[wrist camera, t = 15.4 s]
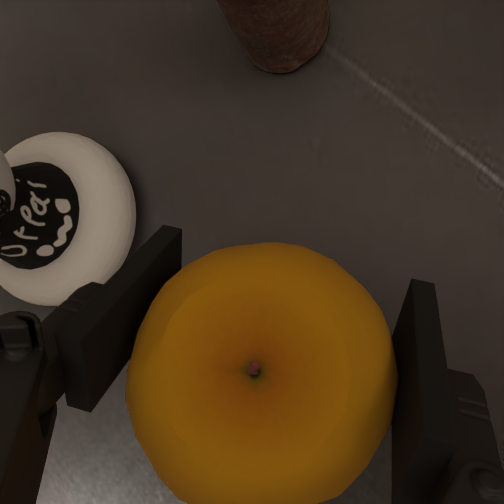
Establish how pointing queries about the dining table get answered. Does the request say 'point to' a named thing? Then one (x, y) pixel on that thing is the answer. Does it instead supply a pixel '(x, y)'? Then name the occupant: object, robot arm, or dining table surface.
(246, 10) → the brown upright cylinder
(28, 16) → the dining table surface
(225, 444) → the apple
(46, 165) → the decorative figurine
